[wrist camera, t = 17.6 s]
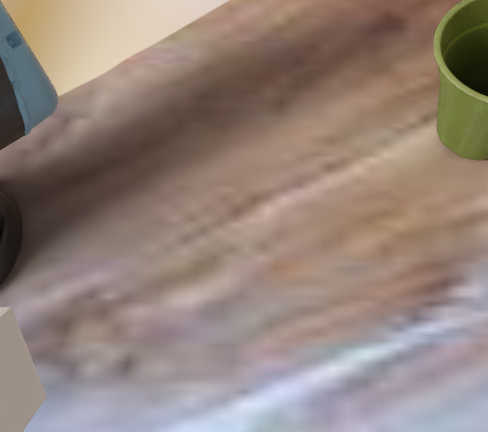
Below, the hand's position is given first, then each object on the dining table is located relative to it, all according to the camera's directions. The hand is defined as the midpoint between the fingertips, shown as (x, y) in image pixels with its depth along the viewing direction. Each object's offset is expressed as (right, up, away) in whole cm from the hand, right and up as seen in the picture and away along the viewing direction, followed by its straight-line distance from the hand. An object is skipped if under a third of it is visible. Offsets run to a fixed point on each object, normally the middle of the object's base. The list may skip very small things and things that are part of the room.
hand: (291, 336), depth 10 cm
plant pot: (+22, +11, +34) cm, 41 cm away
